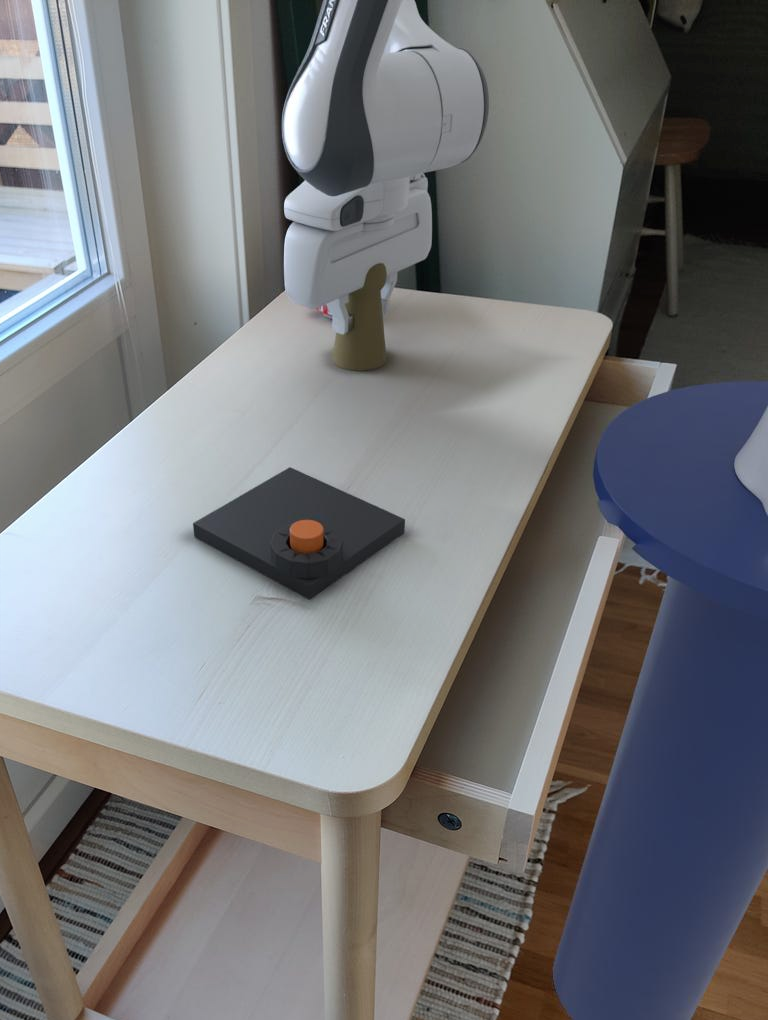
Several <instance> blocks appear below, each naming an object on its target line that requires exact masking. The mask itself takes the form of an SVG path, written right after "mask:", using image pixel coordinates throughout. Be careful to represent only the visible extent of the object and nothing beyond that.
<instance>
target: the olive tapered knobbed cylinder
mask: <svg viewBox="0 0 768 1020" xmlns="http://www.w3.org/2000/svg"><path fill="white" fill-rule="evenodd" d="M386 279H387V271H386V267H385V265H384V264H383V263H378V264H376V265H374V266H373V267H371V268H370V269H369V271H368V273H367V274H366V278H365V282H364V286H363V287H362V288H360V289H358V290H356V291H354V292H352V293H349V301H348V303H346V304H345V307H346V309H347V312H348V314H352V315H354V322H353V325H354V328H353V330H351V331H349V332H348V333H345V334H343V335H342V334H339V333H336V332H335V336H334V345H333V352H332V362H333V364H334V365H336V366H337V367H338V368H341V369H344V370H348V371H357V372H359V371H360V372H361V371H362V372H365V371H371V370H375V369H378V368H381V367H382V366H383V365H385V364H386V363H387V360H388V359H387V349H386V338H385V327H384V315H383V313H382V302H381V290H382V288H383V287H384V286H385V283H386Z"/></svg>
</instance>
